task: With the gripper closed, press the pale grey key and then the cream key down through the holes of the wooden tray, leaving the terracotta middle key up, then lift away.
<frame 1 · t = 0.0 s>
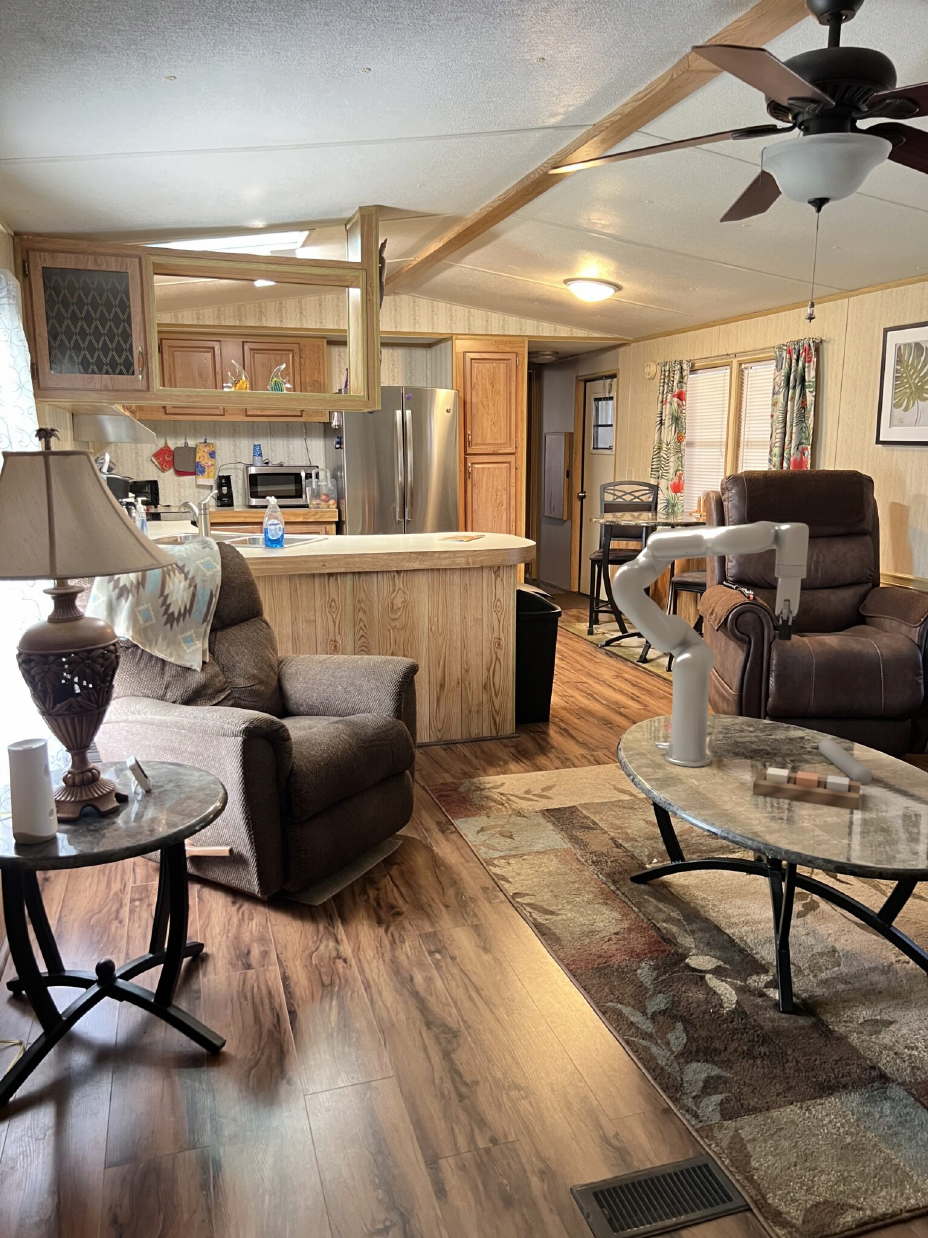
hand: (786, 636, 232), 37 cm above the table, tool pointing down, fingers open, 9 cm apart
tube: (845, 771, 240), on the table
key left: (777, 777, 224), point 3 cm above the table, slide at 0.0 cm
key right: (837, 785, 218), point 3 cm above the table, slide at 0.0 cm
wooden tray: (806, 794, 222), on the table
key mid: (807, 781, 221), point 3 cm above the table, slide at 0.0 cm
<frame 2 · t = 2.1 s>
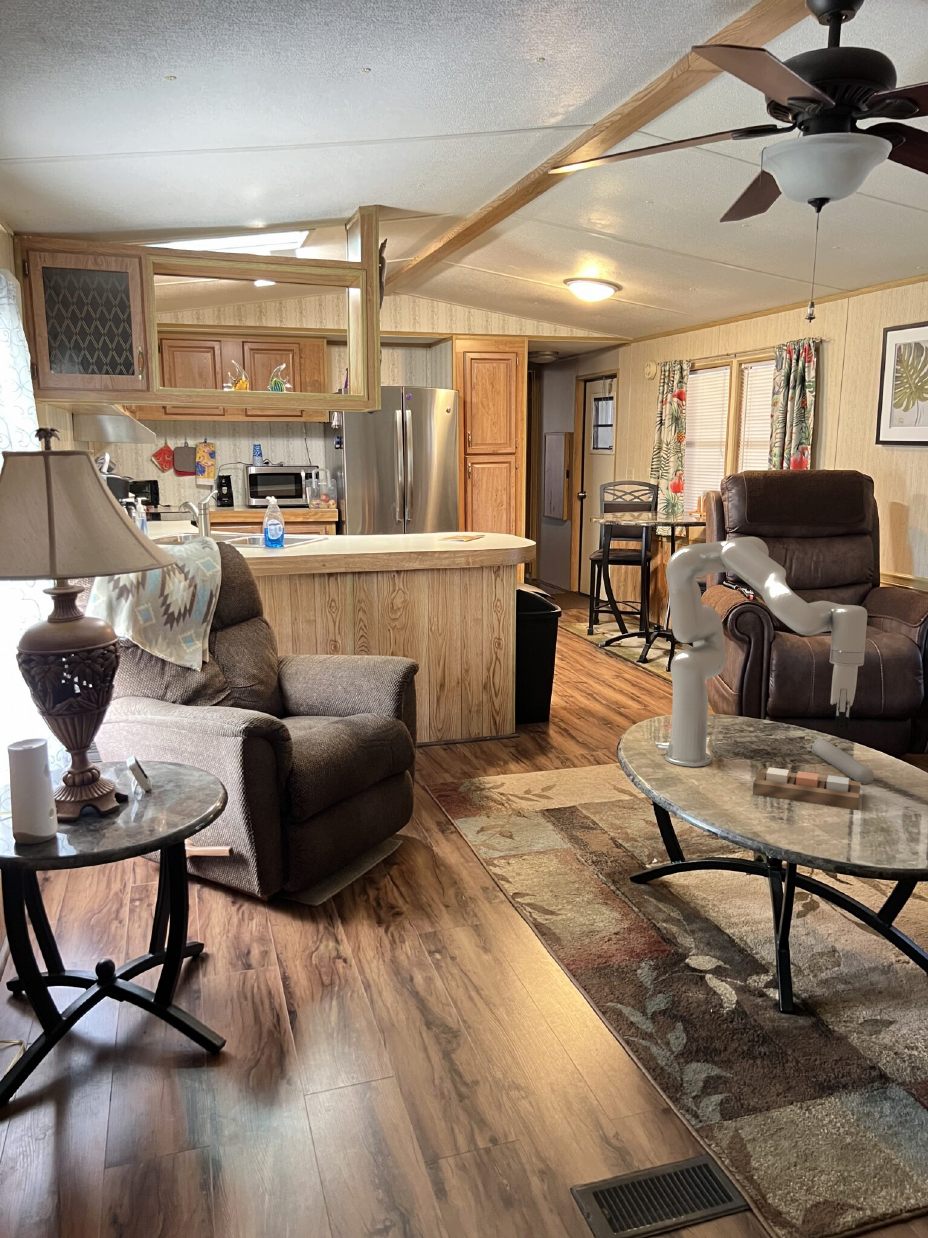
hand: (841, 731, 216), 17 cm above the table, tool pointing down, fingers closed
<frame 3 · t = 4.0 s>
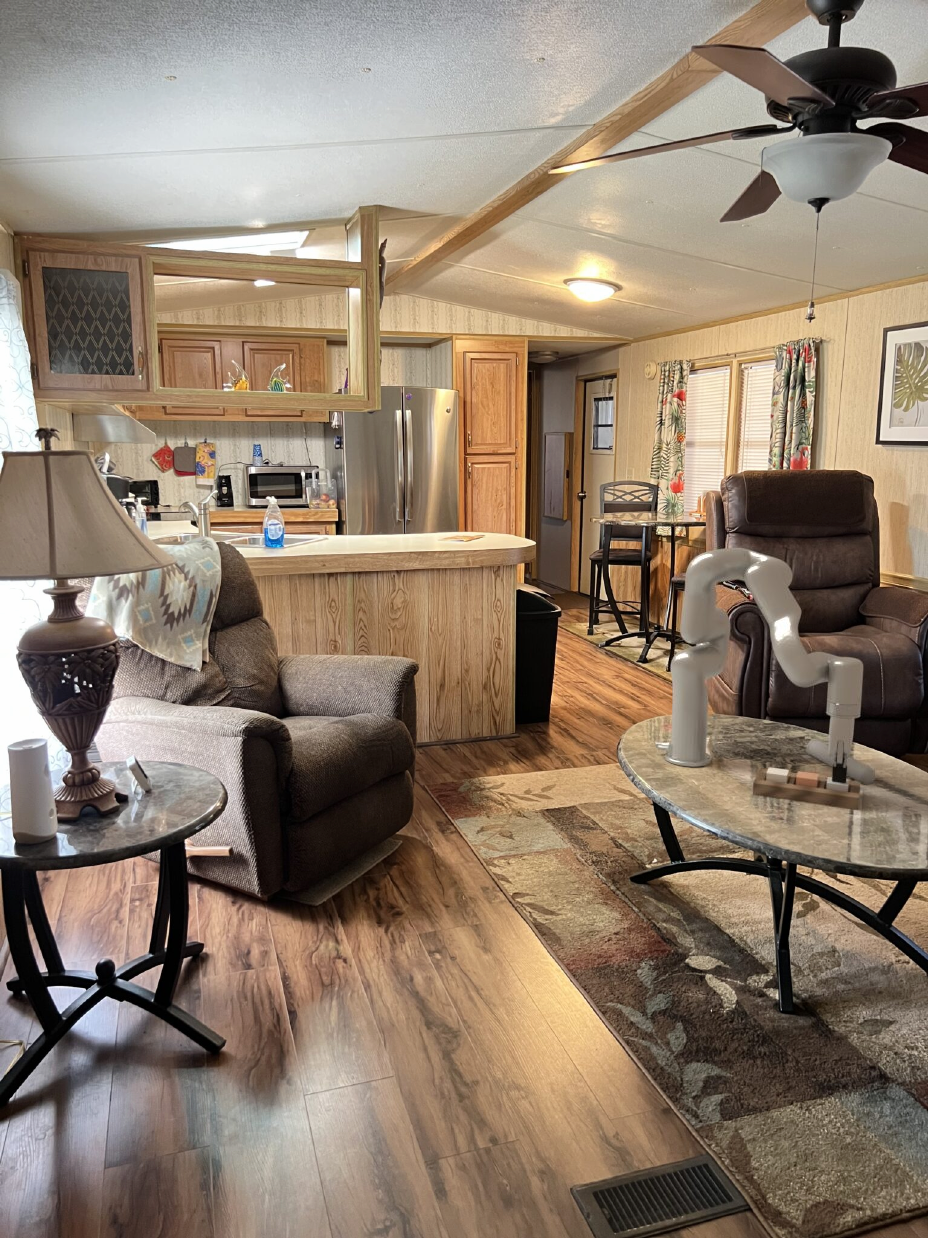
hand: (839, 781, 218), 4 cm above the table, tool pointing down, fingers closed
key right: (837, 787, 218), point 3 cm above the table, slide at 0.4 cm, touching gripper
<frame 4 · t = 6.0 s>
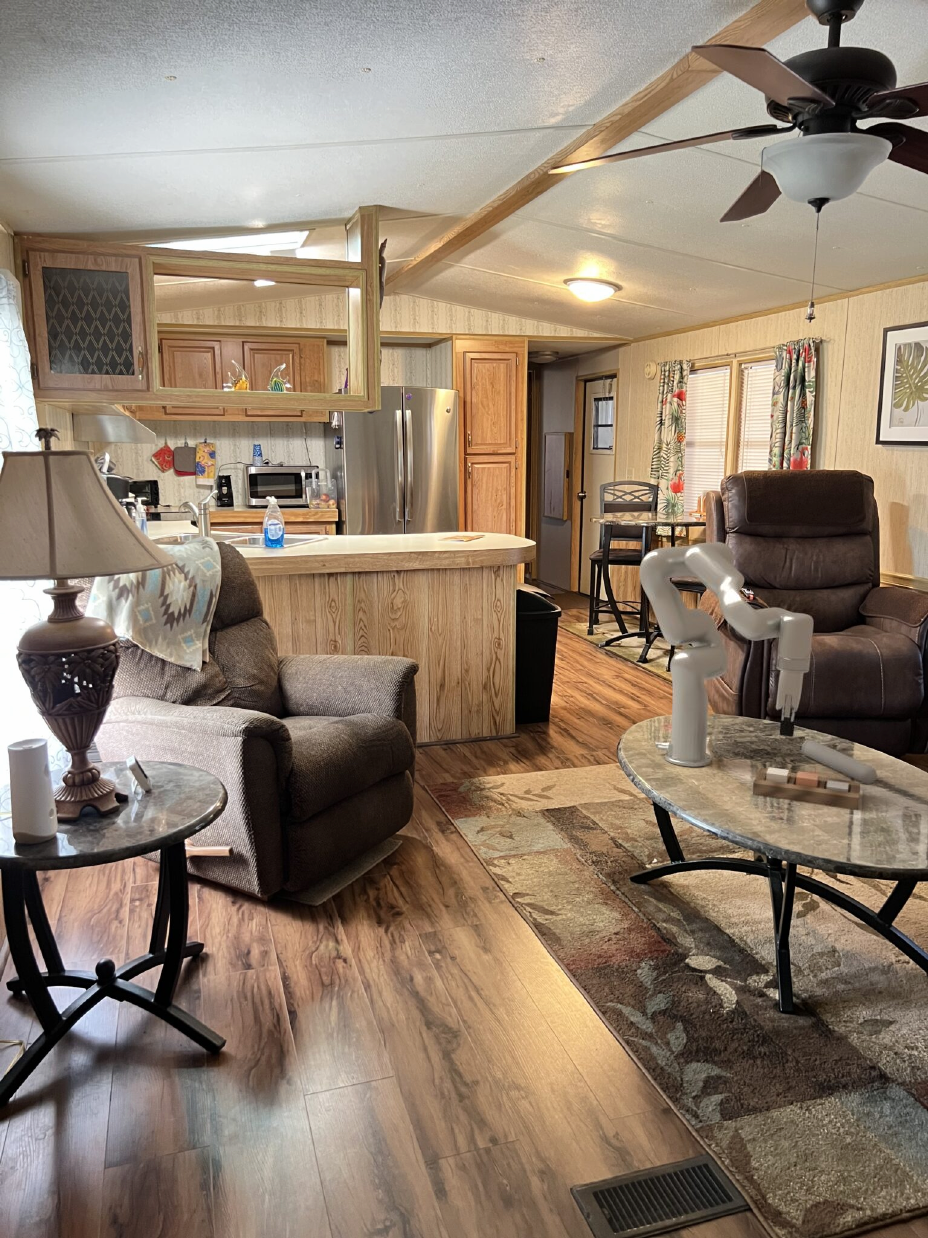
hand: (786, 735, 222), 14 cm above the table, tool pointing down, fingers closed
key right: (837, 790, 218), point 2 cm above the table, slide at 1.3 cm
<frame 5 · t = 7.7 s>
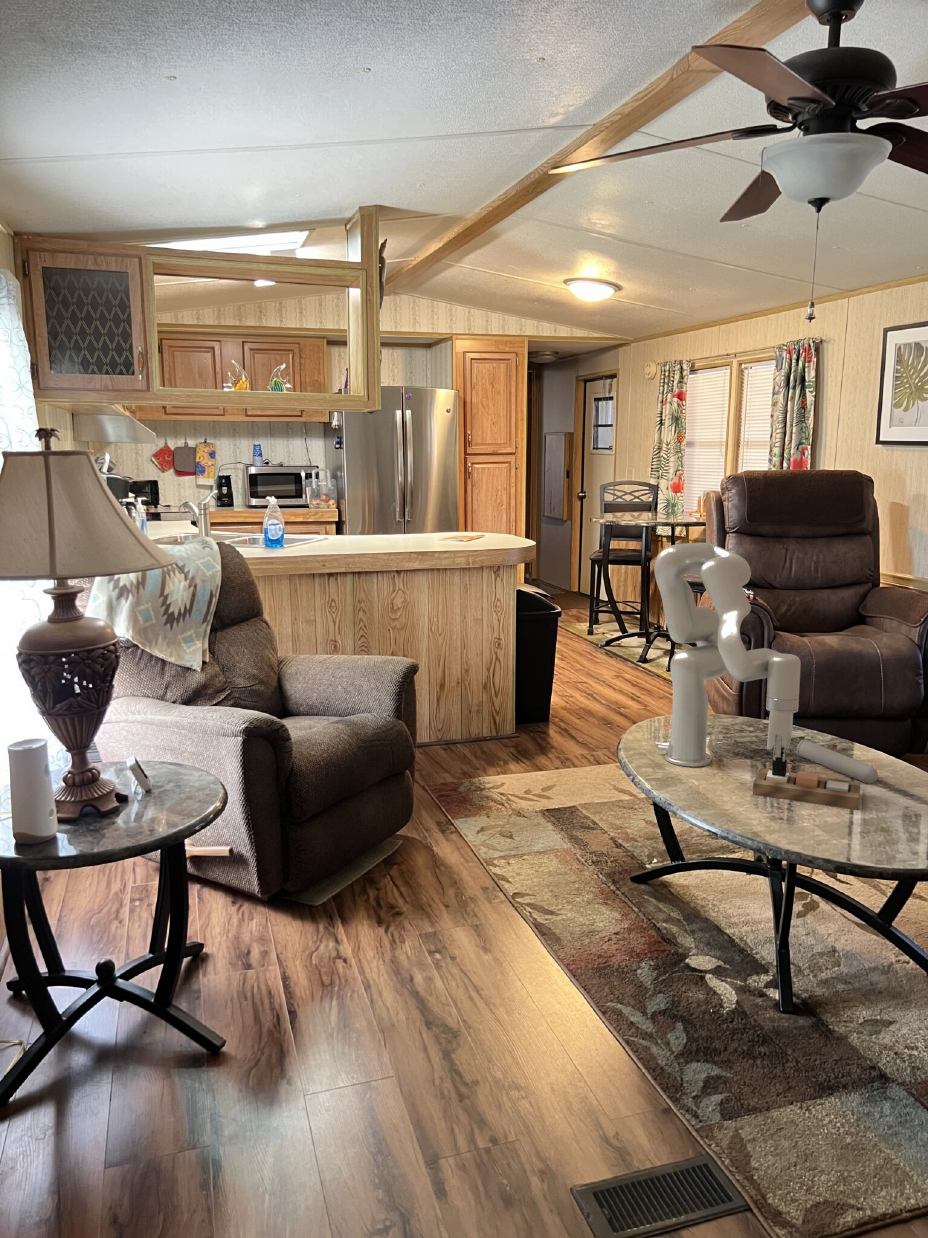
hand: (778, 774, 224), 4 cm above the table, tool pointing down, fingers closed
key left: (777, 780, 224), point 2 cm above the table, slide at 0.8 cm, touching gripper
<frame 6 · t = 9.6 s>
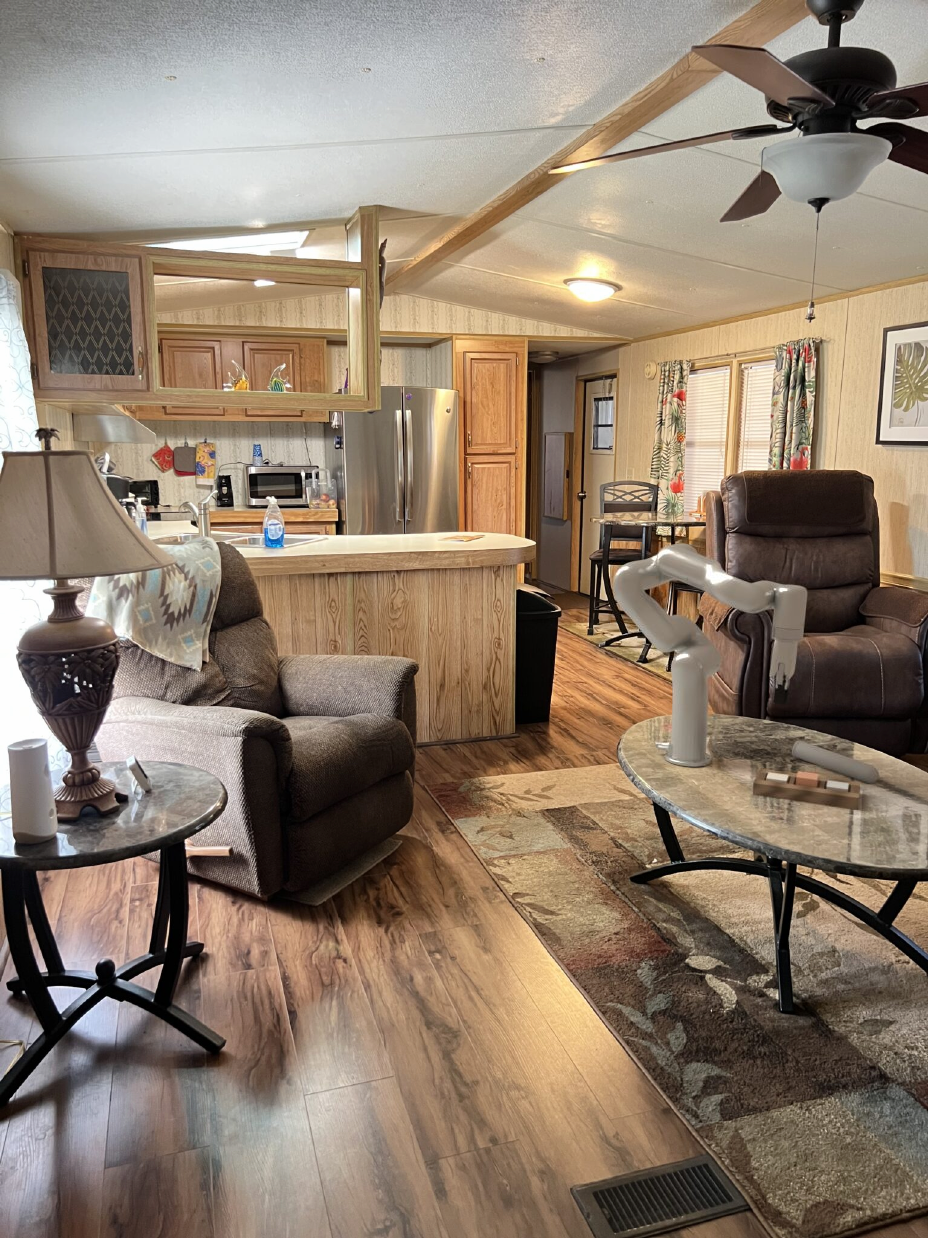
hand: (780, 703, 230), 20 cm above the table, tool pointing down, fingers closed
key left: (777, 782, 224), point 2 cm above the table, slide at 1.3 cm
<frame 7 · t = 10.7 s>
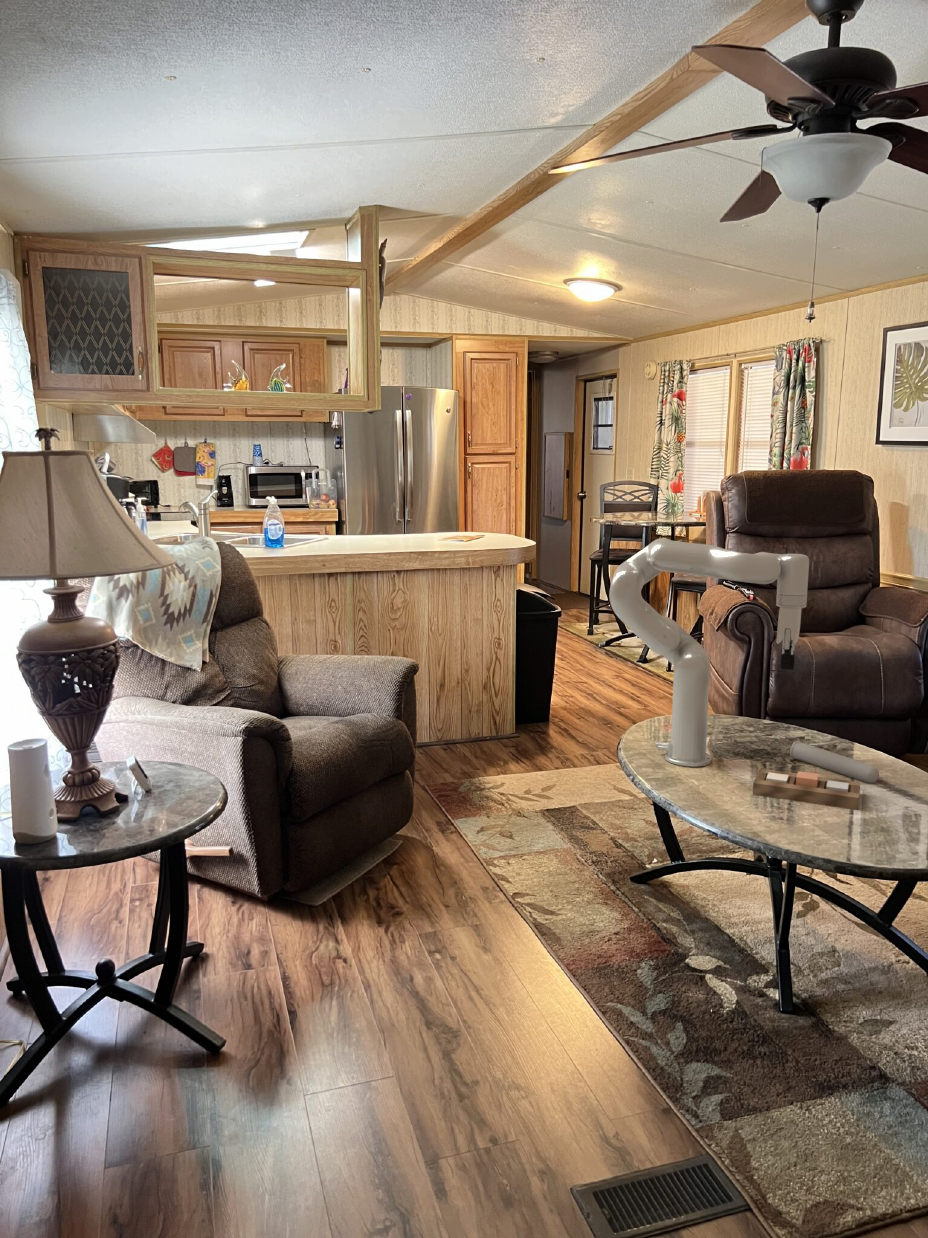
hand: (787, 668, 238), 27 cm above the table, tool pointing down, fingers closed
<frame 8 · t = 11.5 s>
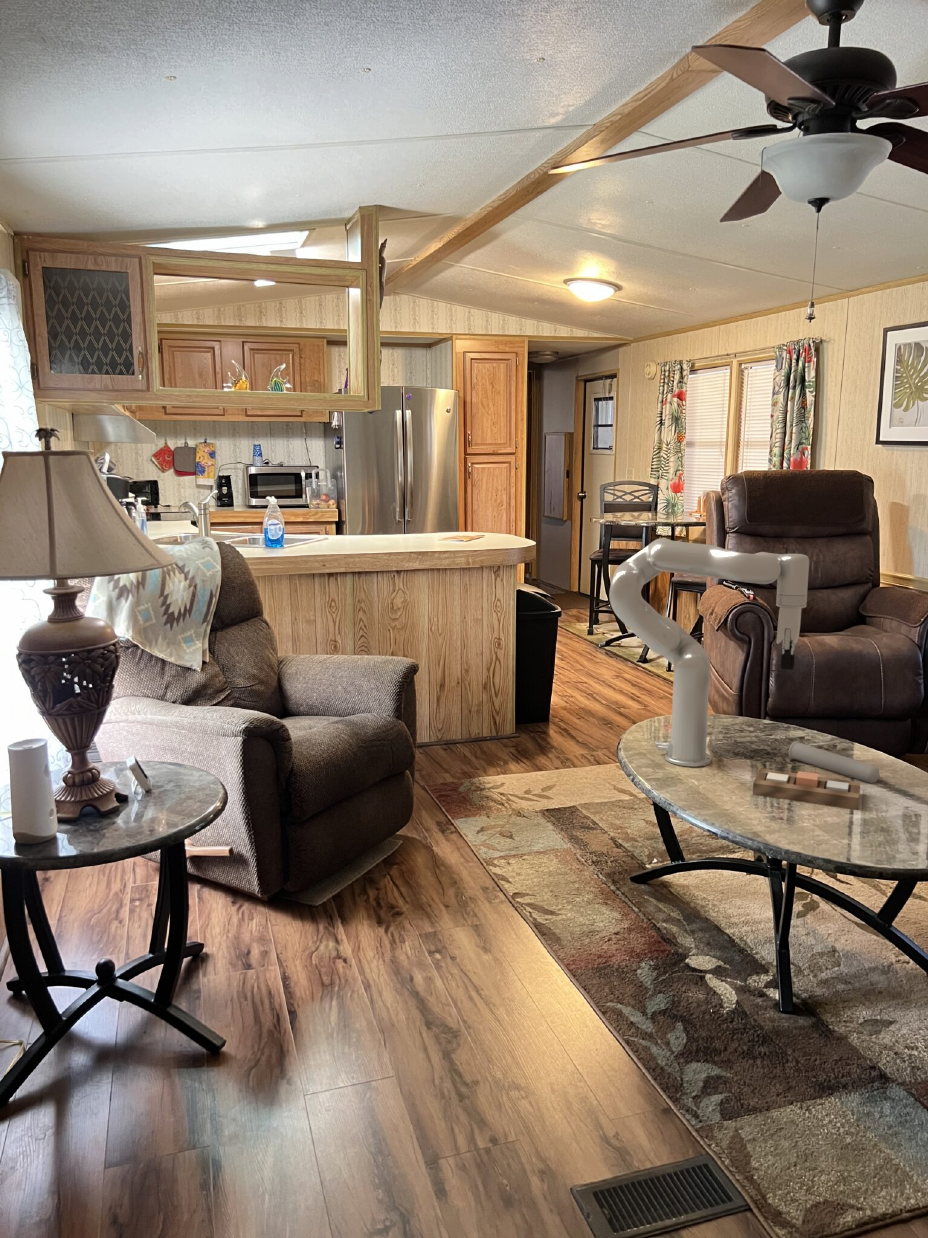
hand: (787, 668, 238), 27 cm above the table, tool pointing down, fingers closed
at the end: key right slide at 1.3 cm; key left slide at 1.3 cm; key mid slide at 0.0 cm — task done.
